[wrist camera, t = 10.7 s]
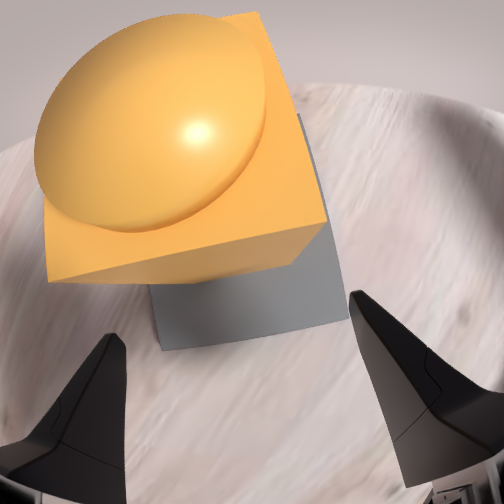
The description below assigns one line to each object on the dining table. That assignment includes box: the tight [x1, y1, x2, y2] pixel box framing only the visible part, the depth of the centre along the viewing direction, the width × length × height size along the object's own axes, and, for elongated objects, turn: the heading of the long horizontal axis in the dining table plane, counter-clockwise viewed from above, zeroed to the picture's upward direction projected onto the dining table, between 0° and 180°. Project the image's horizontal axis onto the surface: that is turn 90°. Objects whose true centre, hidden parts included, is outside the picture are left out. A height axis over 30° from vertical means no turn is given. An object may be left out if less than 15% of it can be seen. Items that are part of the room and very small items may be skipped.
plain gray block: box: [149, 113, 349, 351], centre depth 16 cm, size 14×12×5 cm
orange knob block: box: [34, 11, 327, 284], centre depth 11 cm, size 6×6×14 cm
